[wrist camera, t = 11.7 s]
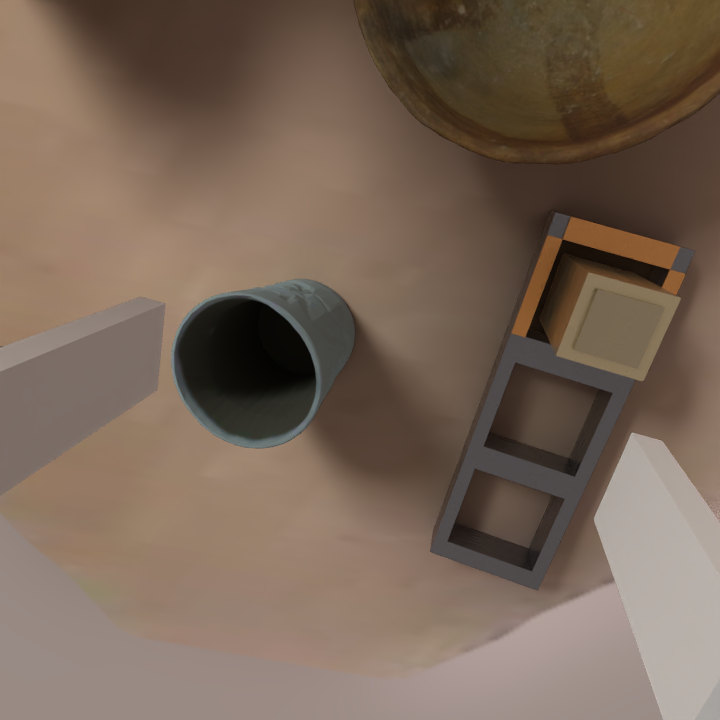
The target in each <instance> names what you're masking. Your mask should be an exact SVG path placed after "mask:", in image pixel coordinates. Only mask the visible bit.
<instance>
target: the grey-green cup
mask: <svg viewBox="0 0 720 720" xmlns="http://www.w3.org/2000/svg"><path fill="white" fill-rule="evenodd" d="M354 342H355V327H354V321H353V317H352V315H351V312H350V310H349V308H348V307H347V305H346V303H345V302H344V301H343V300H342V298H341V297H340V296H339V295H338V294H337V293H336V292H335V291H333V290H332V289H331V288H329V287H327V286H326V285H324V284H322V283H319V282H316V281H313V280H307V279H295V280H289V281H285V282H280V283H276V284H274V285H271V286H265V287H263V288H259V287H257V288H253V289H248V290H241V291H235V292H228V293H222V294H219V295H215V296H212V297H210V298H208V299H206V300H204V301H203V302H201V303H199V304H198V305H197V306H196V307H194V308H193V309H192V310H191V311H190V312H189V313H188V314H187V316H186V317H185V318H184V319H183V321H182V323H181V324H180V326H179V328H178V330H177V333H176V336H175V339H174V342H173V347H172V354H171V366H172V372H173V378H174V383H175V385H176V388H177V390H178V393H179V395H180V397H181V399H182V401H183V402H184V404H185V406H186V407H187V409H188V410H189V411H190V412H191V413H192V415H193V416H194V417H195V418H196V419H197V421H198V422H199V423H200V424H201V425H202V426H203V427H205V428H206V429H207V430H208V431H210V432H211V433H212V434H213V435H215V436H217V437H219V438H220V439H222V440H224V441H226V442H229V443H232V444H234V445H237V446H241V447H246V448H269V447H274V446H278V445H281V444H284V443H286V442H288V441H290V440H292V439H293V438H295V437H296V436H298V435H299V434H300V433H301V432H302V431H303V430H304V429H305V428H307V426H308V425H309V424H310V422H311V421H312V420H313V418H314V416H315V414H316V413H317V411H318V409H319V407H320V405H321V403H322V402H323V400H324V398H325V396H326V395H327V394H328V392H329V390H330V389H331V387H332V385H333V383H334V380H335V378H336V377H337V375H338V374H339V372H340V371H341V370H342V368H343V366H344V365H345V364H346V362H347V360H348V359H349V357H350V355H351V353H352V350H353V346H354Z"/></svg>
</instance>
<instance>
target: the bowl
mask: <svg viewBox="0 0 720 720" xmlns="http://www.w3.org/2000/svg"><path fill="white" fill-rule="evenodd" d="M354 5H355V9H356V13H357V17H358V21H359V25H360V28H361V31H362V34H363V37H364V39H365V41H366V44H367V47H368V50H369V52H370V55H371V57H372V59H373V61H374V62H375V64H376V66H377V68H378V69H379V71H380V73H381V74H382V76H383V78H384V79H385V81H386V83H387V84H388V86H389V88H390V89H391V90H392V91H393V93H394V94H395V95H396V96H397V97H398V98H399V99H400V101H401V102H402V103H403V104H404V106H405V107H406V108H407V109H408V110H409V112H410V113H411V114H412V115H413V116H414V117H415V118H416V119H418V120H419V121H420V122H421V123H422V124H423V125H425V126H426V127H428V128H430V129H431V130H433V131H434V132H436V133H437V134H439V135H440V136H442V137H443V138H445V139H447V140H450V141H452V142H454V143H456V144H458V145H459V146H461V147H463V148H465V149H468V150H470V151H472V152H475V153H477V154H480V155H482V156H485V157H487V158H491V159H495V160H499V161H502V162H509V163H534V164H567V163H577V162H582V161H586V160H589V159H593V158H596V157H600V156H603V155H607V154H612V153H616V152H619V151H621V150H624V149H626V148H630V147H633V146H635V145H638V144H640V143H643V142H645V141H647V140H649V139H652V138H653V137H655V136H656V135H658V134H660V133H661V132H663V131H665V130H666V129H668V128H670V127H672V126H674V125H676V124H677V123H679V122H681V121H683V120H685V119H687V118H688V117H690V116H691V115H693V114H694V113H696V112H697V111H699V110H700V109H702V108H703V107H704V106H705V105H706V104H707V103H709V102H710V101H711V100H712V99H713V98H715V97H716V96H717V95H718V94H719V93H720V0H354Z"/></svg>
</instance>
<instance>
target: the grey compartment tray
mask: <svg viewBox="0 0 720 720" xmlns="http://www.w3.org/2000/svg"><path fill="white" fill-rule="evenodd" d="M562 239H563V240H567V241H570V242H574V243H578V244H581V245H585V246H588V247H592V248H595V249H599V250H602V251H606V252H609V253H613V254H617V255H620V256H624V257H627V258H631V259H634V260H638V261H641V262H645V263H649V264H652V265H655V266H654V268H653V270H652V273H651V275H650V277H649V279H648V280H649V281H651V282H652V283H654V284H656V285H658V286H660V287H662V288H664V289H666V290H667V291H669V292H671V293H673V294H675V295H676V294H677V292H678V290H679V288H680V286H681V283H682V281H683V279H684V277H685V275H686V274H685V272H686V270H687V268H688V266H689V264H690V261H691V259H692V257H693V255H694V253H695V251H694V250H690V249H687V248H683V247H679V246H676V245H672V244H669V243H665V242H661V241H658V240H654V239H650V238H647V237H643V236H640V235H636V234H632V233H629V232H625V231H622V230H618V229H614V228H611V227H607V226H603V225H600V224H596V223H593V222H589V221H585V220H582V219H578V218H574V217H571V216H567V215H564V214H560V213H556V212H553V211H550V213H549V216H548V219H547V221H546V224H545V227H544V229H543V232H542V235H541V238H540V240H539V243H538V246H537V249H536V251H535V254H534V257H533V259H532V262H531V265H530V268H529V270H528V273H527V276H526V279H525V281H524V284H523V287H522V290H521V292H520V295H519V298H518V300H517V303H516V306H515V309H514V311H513V314H512V317H511V320H510V322H509V325H508V328H507V331H506V333H505V336H504V339H503V341H502V344H501V347H500V350H499V352H498V355H497V358H496V361H495V363H494V366H493V369H492V371H491V374H490V377H489V380H488V382H487V385H486V388H485V391H484V393H483V396H482V399H481V402H480V404H479V407H478V410H477V412H476V415H475V418H474V421H473V423H472V426H471V429H470V432H469V434H468V437H467V440H466V442H465V445H464V448H463V451H462V453H461V456H460V459H459V462H458V464H457V467H456V470H455V473H454V475H453V478H452V481H451V483H450V486H449V489H448V492H447V494H446V497H445V500H444V503H443V505H442V508H441V511H440V514H439V516H438V519H437V522H436V524H435V527H434V530H433V535H432V542H431V549H430V552H432V553H434V554H437V555H440V556H443V557H446V558H448V559H451V560H454V561H457V562H460V563H462V564H465V565H468V566H471V567H474V568H476V569H479V570H482V571H485V572H487V573H490V574H493V575H496V576H499V577H501V578H504V579H507V580H510V581H513V582H515V583H518V584H521V585H524V586H526V587H529V588H532V589H535V590H538V589H539V586H540V584H541V582H542V580H543V578H544V576H545V574H546V571H547V569H548V567H549V565H550V563H551V561H552V558H553V556H554V554H555V552H556V550H557V548H558V546H559V543H560V541H561V539H562V537H563V535H564V533H565V530H566V528H567V526H568V524H569V522H570V520H571V518H572V515H573V513H574V511H575V509H576V507H577V505H578V502H579V500H580V498H581V496H582V494H583V492H584V490H585V487H586V485H587V483H588V481H589V479H590V477H591V474H592V472H593V470H594V468H595V466H596V464H597V462H598V459H599V457H600V455H601V453H602V451H603V449H604V447H605V444H606V442H607V440H608V438H609V436H610V434H611V431H612V429H613V427H614V425H615V423H616V421H617V419H618V416H619V414H620V412H621V410H622V408H623V406H624V403H625V401H626V399H627V397H628V395H629V393H630V391H631V388H632V386H633V384H634V382H635V380H636V379H632V378H629V377H626V376H622V375H619V374H616V373H612V372H609V371H605V370H602V369H599V368H595V367H592V366H589V365H585V364H582V363H579V362H575V361H572V360H568V359H565V358H562V357H558V356H556V355H555V353H554V351H553V348H552V346H551V344H550V342H549V339H548V337H547V335H546V334H544V333H540V332H537V331H534V330H530V329H529V326H530V324H531V321H532V318H533V316H534V313H535V311H536V308H537V305H538V303H539V300H540V297H541V295H542V292H543V289H544V287H545V284H546V282H547V279H548V276H549V274H550V271H551V268H552V266H553V263H554V261H555V258H556V255H557V253H558V250H559V247H560V245H561V242H562ZM515 363H518V364H522V365H525V366H528V367H531V368H534V369H538V370H541V371H544V372H547V373H550V374H554V375H557V376H560V377H563V378H566V379H570V380H573V381H576V382H579V383H583V384H586V385H589V386H592V387H595V388H599V389H600V390H599V392H598V394H597V397H596V399H595V401H594V403H593V406H592V408H591V410H590V412H589V415H588V417H587V419H586V421H585V424H584V426H583V428H582V430H581V433H580V435H579V437H578V439H577V442H576V444H575V446H574V449H573V451H572V453H571V455H570V458H566V457H563V456H560V455H557V454H554V453H551V452H548V451H544V450H541V449H538V448H535V447H532V446H529V445H526V444H523V443H520V442H517V441H514V440H511V439H508V438H505V437H502V436H499V435H496V434H493V433H490V432H489V430H490V428H491V425H492V423H493V420H494V417H495V415H496V412H497V409H498V407H499V404H500V401H501V399H502V396H503V394H504V391H505V388H506V386H507V383H508V380H509V378H510V375H511V372H512V370H513V367H514V365H515ZM475 469H477V470H480V471H483V472H486V473H489V474H492V475H495V476H498V477H501V478H504V479H507V480H510V481H513V482H516V483H519V484H522V485H525V486H528V487H531V488H534V489H537V490H540V491H543V492H546V493H549V494H551V495H553V496H552V498H551V500H550V503H549V505H548V507H547V509H546V512H545V514H544V516H543V518H542V521H541V523H540V525H539V527H538V530H537V532H536V534H535V536H534V539H533V541H532V543H531V545H530V548H529V549H528V548H525V547H522V546H520V545H517V544H514V543H511V542H508V541H505V540H502V539H500V538H497V537H494V536H491V535H488V534H485V533H483V532H480V531H477V530H474V529H471V528H468V527H465V526H463V525H460V524H457V523H455V520H456V517H457V515H458V512H459V509H460V507H461V504H462V502H463V499H464V496H465V494H466V491H467V488H468V486H469V483H470V480H471V478H472V475H473V473H474V470H475Z"/></svg>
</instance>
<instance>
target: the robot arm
mask: <svg viewBox="0 0 720 720" xmlns="http://www.w3.org/2000/svg"><path fill="white" fill-rule="evenodd" d="M165 304H166V303H162V302H158V301H155V300H151V299H148V298H144V297H139V298H136V299H133V300H130V301H128V302H125V303H122V304H119V305H117V306H114V307H111V308H108V309H105V310H103V311H100V312H97V313H94V314H92V315H89V316H86V317H83V318H81V319H78V320H75V321H72V322H69V323H67V324H64V325H61V326H58V327H56V328H53V329H50V330H47V331H45V332H42V333H39V334H36V335H33V336H31V337H28V338H25V339H22V340H20V341H17V342H14V343H11V344H9V345H6V346H1V347H0V496H1V495H2V494H4V493H5V492H7V491H8V490H10V489H11V488H13V487H14V486H16V485H17V484H18V483H20V482H21V481H23V480H24V479H26V478H27V477H29V476H30V475H32V474H33V473H35V472H36V471H38V470H39V469H41V468H42V467H44V466H45V465H47V464H48V463H50V462H51V461H53V460H54V459H56V458H57V457H59V456H60V455H62V454H63V453H65V452H66V451H67V450H69V449H70V448H72V447H73V446H75V445H76V444H78V443H79V442H81V441H82V440H84V439H85V438H87V437H88V436H90V435H91V434H93V433H94V432H96V431H97V430H99V429H100V428H102V427H103V426H105V425H106V424H108V423H109V422H111V421H112V420H114V419H115V418H116V417H118V416H119V415H121V414H122V413H124V412H125V411H127V410H128V409H130V408H131V407H133V406H134V405H136V404H137V403H139V402H140V401H142V400H143V399H145V398H146V397H148V396H149V395H151V394H152V393H154V392H155V391H157V388H158V378H159V367H160V357H161V346H162V335H163V325H164V314H165ZM594 522H595V525H596V528H597V530H598V533H599V536H600V539H601V542H602V545H603V548H604V551H605V554H606V556H607V559H608V562H609V565H610V568H611V571H612V574H613V577H614V580H615V583H616V585H617V588H618V591H619V594H620V597H621V600H622V603H623V605H624V608H625V611H626V614H627V617H628V620H629V623H630V626H631V629H632V632H633V635H634V637H635V640H636V643H637V646H638V649H639V652H640V655H641V658H642V660H643V664H644V666H645V669H646V672H647V675H648V678H649V681H650V684H651V687H652V689H653V692H654V695H655V698H656V701H657V704H658V707H659V710H660V712H661V716H662V718H663V720H720V522H719V520H718V519H717V518H716V516H715V515H714V513H713V512H712V511H711V509H710V508H709V506H708V505H707V504H706V502H705V501H704V499H703V498H702V496H701V495H700V494H699V492H698V491H697V489H696V488H695V487H694V485H693V484H692V482H691V481H690V479H689V478H688V477H687V475H686V474H685V472H684V471H683V470H682V468H681V467H680V465H679V464H678V463H677V461H676V460H675V458H674V457H673V455H672V454H671V453H670V451H669V450H668V448H667V447H666V446H665V444H664V443H663V441H661V440H658V439H654V438H651V437H647V436H643V435H640V434H636V433H631V435H630V438H629V440H628V442H627V445H626V447H625V449H624V451H623V454H622V456H621V458H620V460H619V463H618V465H617V467H616V469H615V472H614V474H613V476H612V478H611V481H610V483H609V485H608V487H607V490H606V492H605V494H604V496H603V499H602V501H601V503H600V506H599V508H598V510H597V512H596V515H595V517H594Z"/></svg>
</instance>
